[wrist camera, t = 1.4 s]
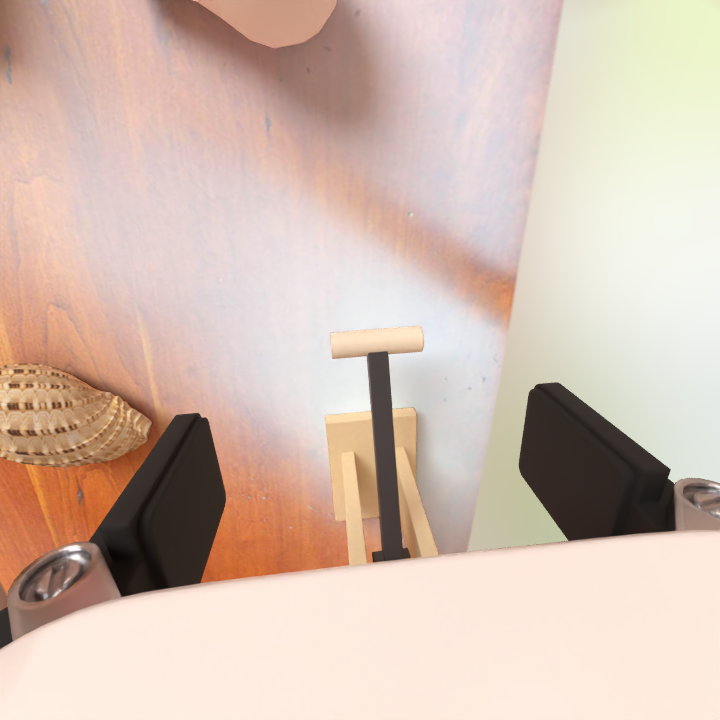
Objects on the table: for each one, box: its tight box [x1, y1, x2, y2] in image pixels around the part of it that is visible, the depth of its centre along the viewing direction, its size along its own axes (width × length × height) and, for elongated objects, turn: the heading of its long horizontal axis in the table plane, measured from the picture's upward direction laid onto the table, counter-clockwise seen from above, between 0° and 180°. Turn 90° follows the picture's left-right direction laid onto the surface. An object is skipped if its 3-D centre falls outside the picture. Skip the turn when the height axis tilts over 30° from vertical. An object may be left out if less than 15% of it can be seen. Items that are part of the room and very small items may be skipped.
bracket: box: [325, 407, 439, 565], centre depth 26 cm, size 10×7×13 cm
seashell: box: [0, 363, 152, 467], centre depth 26 cm, size 8×6×10 cm
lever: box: [330, 326, 424, 563], centre depth 21 cm, size 16×5×2 cm, turn 3°
